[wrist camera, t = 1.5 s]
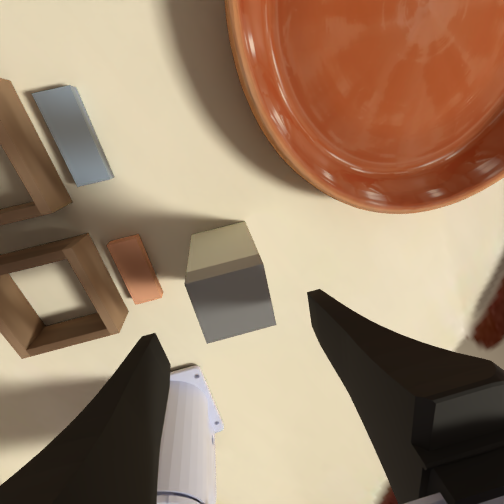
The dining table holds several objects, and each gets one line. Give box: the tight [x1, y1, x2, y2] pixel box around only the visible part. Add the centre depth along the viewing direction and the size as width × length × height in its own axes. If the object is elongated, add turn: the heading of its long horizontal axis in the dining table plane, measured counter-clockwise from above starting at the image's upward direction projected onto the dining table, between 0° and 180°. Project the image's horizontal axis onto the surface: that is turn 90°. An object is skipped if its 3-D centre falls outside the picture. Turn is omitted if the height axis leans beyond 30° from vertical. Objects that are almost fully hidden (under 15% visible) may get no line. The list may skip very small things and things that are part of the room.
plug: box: [185, 221, 276, 344], centre depth 17 cm, size 4×4×7 cm
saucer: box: [225, 0, 504, 214], centre depth 15 cm, size 23×23×4 cm
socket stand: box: [0, 78, 163, 359], centre depth 17 cm, size 16×10×2 cm, turn 12°
